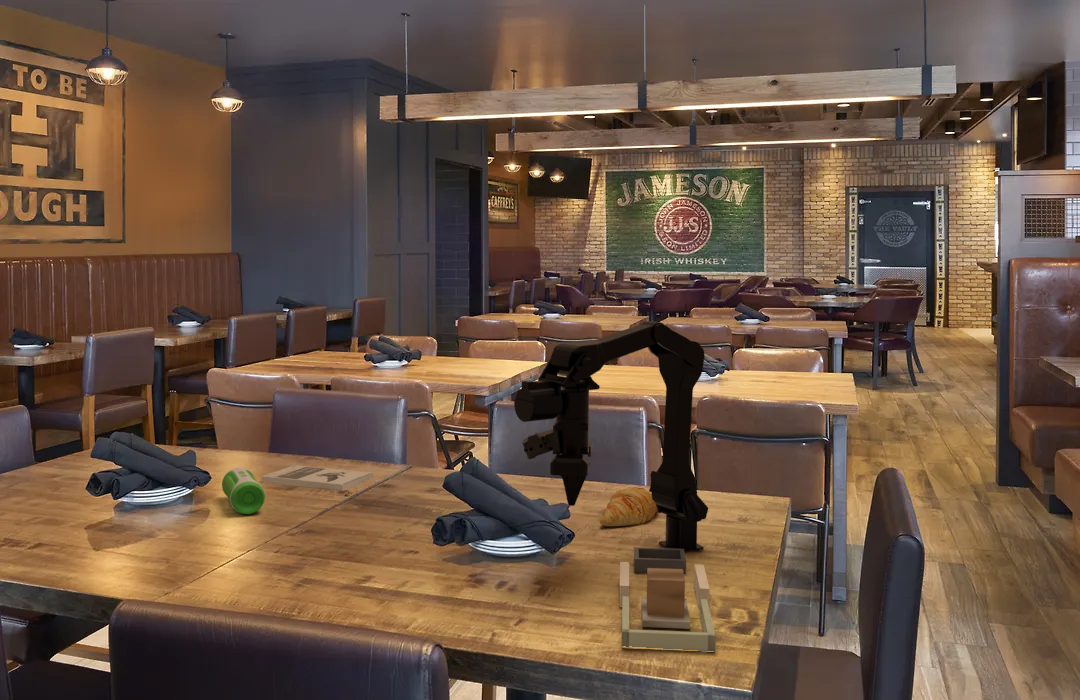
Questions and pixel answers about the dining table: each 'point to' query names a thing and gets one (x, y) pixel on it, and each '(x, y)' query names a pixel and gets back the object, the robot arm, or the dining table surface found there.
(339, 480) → the book
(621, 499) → the croissant
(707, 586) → the channel
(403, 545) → the dining table surface
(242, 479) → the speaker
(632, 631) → the bay
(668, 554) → the tray
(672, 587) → the brown block on plate
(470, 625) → the dining table surface
